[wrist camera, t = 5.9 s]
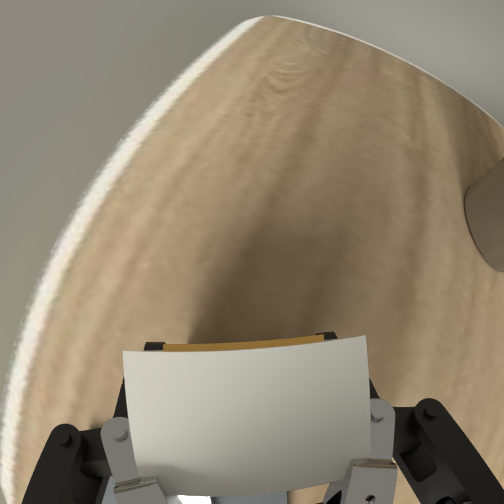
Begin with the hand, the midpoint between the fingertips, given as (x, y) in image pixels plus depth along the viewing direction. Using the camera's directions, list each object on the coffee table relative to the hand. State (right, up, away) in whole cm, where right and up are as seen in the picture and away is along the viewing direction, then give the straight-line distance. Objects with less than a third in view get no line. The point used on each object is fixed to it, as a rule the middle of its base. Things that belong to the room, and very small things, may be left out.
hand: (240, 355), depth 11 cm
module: (0, -3, +4) cm, 5 cm away
